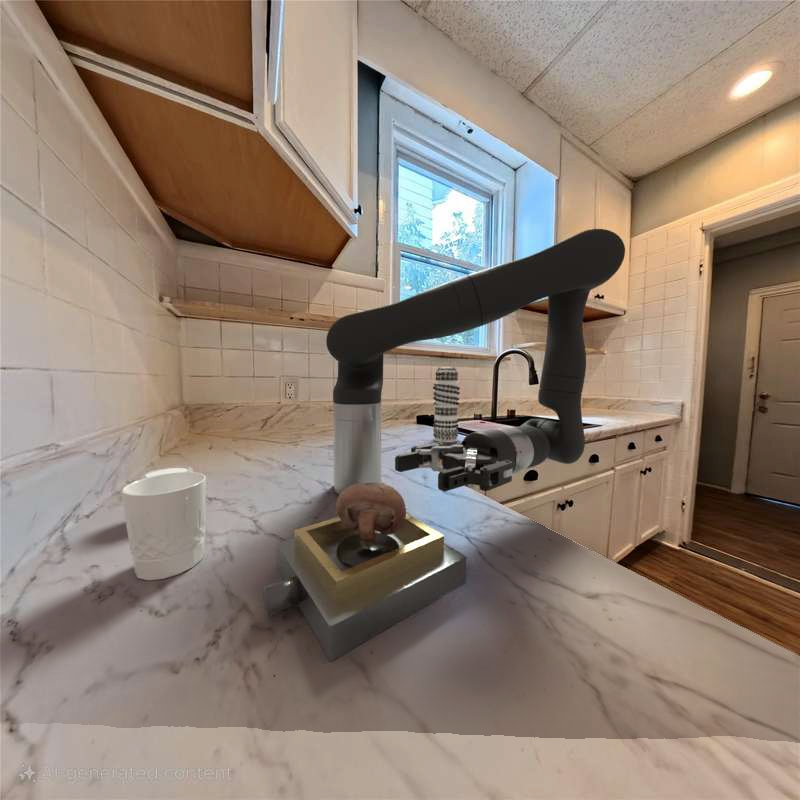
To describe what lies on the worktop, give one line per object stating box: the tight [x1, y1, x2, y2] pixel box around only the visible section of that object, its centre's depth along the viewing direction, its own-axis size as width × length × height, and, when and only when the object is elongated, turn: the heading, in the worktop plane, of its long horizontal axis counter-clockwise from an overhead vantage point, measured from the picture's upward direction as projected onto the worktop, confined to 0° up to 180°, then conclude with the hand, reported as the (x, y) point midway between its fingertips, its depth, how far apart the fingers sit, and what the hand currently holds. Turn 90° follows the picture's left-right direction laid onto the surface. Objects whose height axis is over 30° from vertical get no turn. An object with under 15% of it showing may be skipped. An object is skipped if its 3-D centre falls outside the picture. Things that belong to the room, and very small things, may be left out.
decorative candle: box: [432, 366, 461, 443], centre depth 107 cm, size 9×9×25 cm
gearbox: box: [262, 512, 468, 663], centre depth 35 cm, size 17×19×5 cm
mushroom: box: [335, 482, 407, 549], centre depth 35 cm, size 8×6×8 cm
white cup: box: [121, 471, 207, 581], centre depth 37 cm, size 8×8×10 cm
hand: (416, 472), depth 39 cm, fingers open, 8 cm apart
